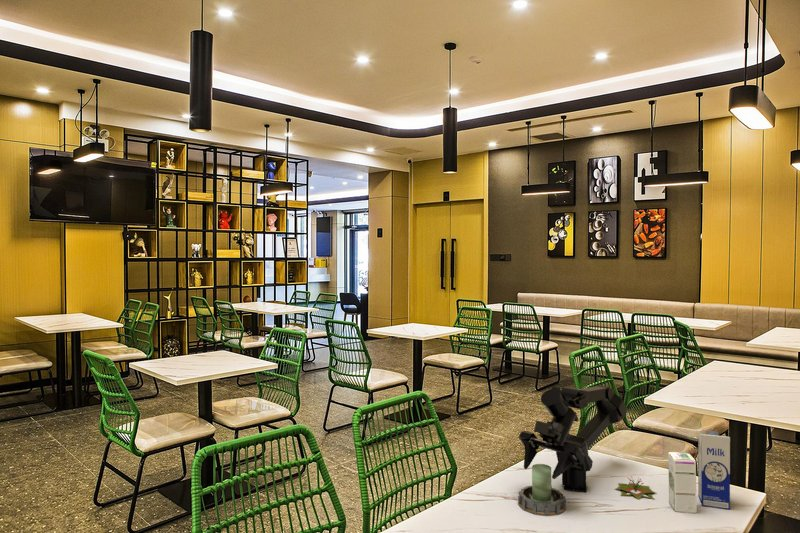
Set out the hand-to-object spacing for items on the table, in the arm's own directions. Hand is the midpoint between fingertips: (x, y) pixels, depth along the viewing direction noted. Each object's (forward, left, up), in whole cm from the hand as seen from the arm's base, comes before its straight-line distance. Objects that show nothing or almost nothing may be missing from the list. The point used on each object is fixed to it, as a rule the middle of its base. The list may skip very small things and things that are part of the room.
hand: (538, 473), depth 150 cm
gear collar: (-1, -1, -9) cm, 9 cm away
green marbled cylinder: (-1, -1, -9) cm, 9 cm away
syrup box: (-38, -10, -9) cm, 40 cm away
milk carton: (-47, -16, -9) cm, 50 cm away
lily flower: (-27, -18, -10) cm, 34 cm away
